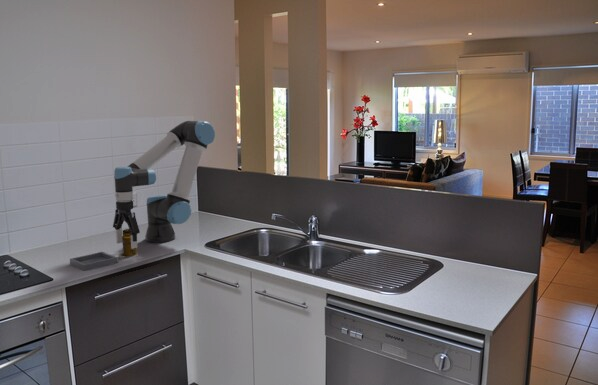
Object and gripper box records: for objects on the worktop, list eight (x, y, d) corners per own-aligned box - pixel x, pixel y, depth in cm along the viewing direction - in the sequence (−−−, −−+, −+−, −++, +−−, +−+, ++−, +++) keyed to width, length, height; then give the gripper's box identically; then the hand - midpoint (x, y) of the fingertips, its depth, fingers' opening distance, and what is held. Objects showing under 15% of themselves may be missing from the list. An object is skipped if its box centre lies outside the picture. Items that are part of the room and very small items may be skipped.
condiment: (138, 255, 237) (137, 230, 235) (119, 258, 233) (117, 232, 231) (136, 251, 243) (134, 227, 241) (117, 254, 240) (116, 229, 238)
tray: (102, 256, 235) (102, 251, 235) (117, 262, 226) (117, 257, 225) (70, 264, 224) (69, 258, 224) (84, 270, 215) (83, 265, 215)
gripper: (103, 198, 239) (106, 242, 243) (130, 204, 223) (133, 251, 226) (118, 196, 245) (121, 239, 248) (146, 202, 228) (148, 248, 231)
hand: (126, 245), depth 237 cm, fingers open, 13 cm apart
